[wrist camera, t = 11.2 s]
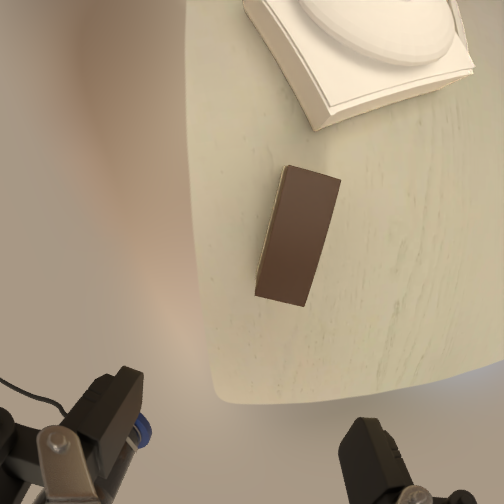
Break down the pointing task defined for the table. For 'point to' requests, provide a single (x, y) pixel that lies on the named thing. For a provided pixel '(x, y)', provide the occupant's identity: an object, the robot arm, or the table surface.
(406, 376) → the table surface
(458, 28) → the cream rounded rod
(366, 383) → the table surface
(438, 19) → the white lidded box
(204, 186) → the table surface
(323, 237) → the brown block cream base
